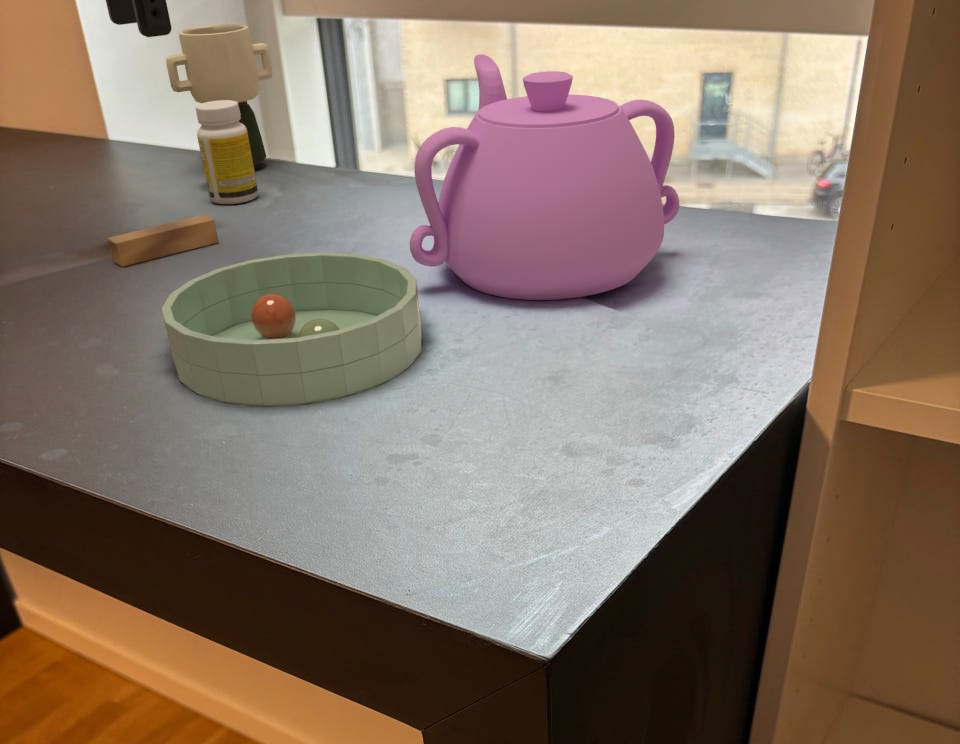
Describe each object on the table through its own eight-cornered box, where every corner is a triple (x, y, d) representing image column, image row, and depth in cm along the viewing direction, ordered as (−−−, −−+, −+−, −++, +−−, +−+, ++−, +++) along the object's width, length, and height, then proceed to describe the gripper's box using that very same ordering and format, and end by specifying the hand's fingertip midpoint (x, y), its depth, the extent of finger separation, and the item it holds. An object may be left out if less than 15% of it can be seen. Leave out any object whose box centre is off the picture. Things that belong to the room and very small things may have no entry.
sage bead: (316, 379, 64) (309, 333, 62) (292, 365, 66) (285, 320, 64) (356, 366, 65) (350, 320, 63) (332, 352, 67) (326, 308, 65)
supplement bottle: (268, 194, 101) (252, 100, 95) (235, 207, 98) (217, 111, 92) (234, 189, 103) (216, 97, 98) (200, 202, 100) (180, 107, 95)
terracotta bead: (268, 350, 68) (260, 306, 66) (247, 338, 70) (239, 294, 68) (307, 338, 69) (300, 294, 67) (286, 326, 71) (278, 283, 69)
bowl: (248, 440, 59) (233, 367, 56) (140, 358, 69) (122, 293, 67) (470, 361, 66) (466, 293, 64) (342, 298, 77) (334, 237, 74)
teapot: (596, 210, 91) (599, 33, 83) (732, 282, 75) (755, 72, 67) (363, 252, 85) (341, 65, 77) (458, 340, 69) (443, 117, 61)
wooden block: (122, 267, 85) (115, 243, 84) (113, 261, 86) (106, 237, 85) (219, 242, 89) (214, 219, 88) (209, 237, 91) (204, 214, 89)
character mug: (274, 153, 114) (253, 19, 106) (297, 165, 110) (276, 26, 101) (180, 169, 111) (150, 32, 103) (200, 183, 106) (170, 39, 98)
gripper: (-2, -250, 69) (69, 26, 79) (38, -272, 59) (114, 47, 69) (108, -252, 72) (164, 14, 82) (164, -274, 62) (219, 33, 72)
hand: (141, 29), depth 76 cm, fingers open, 8 cm apart
